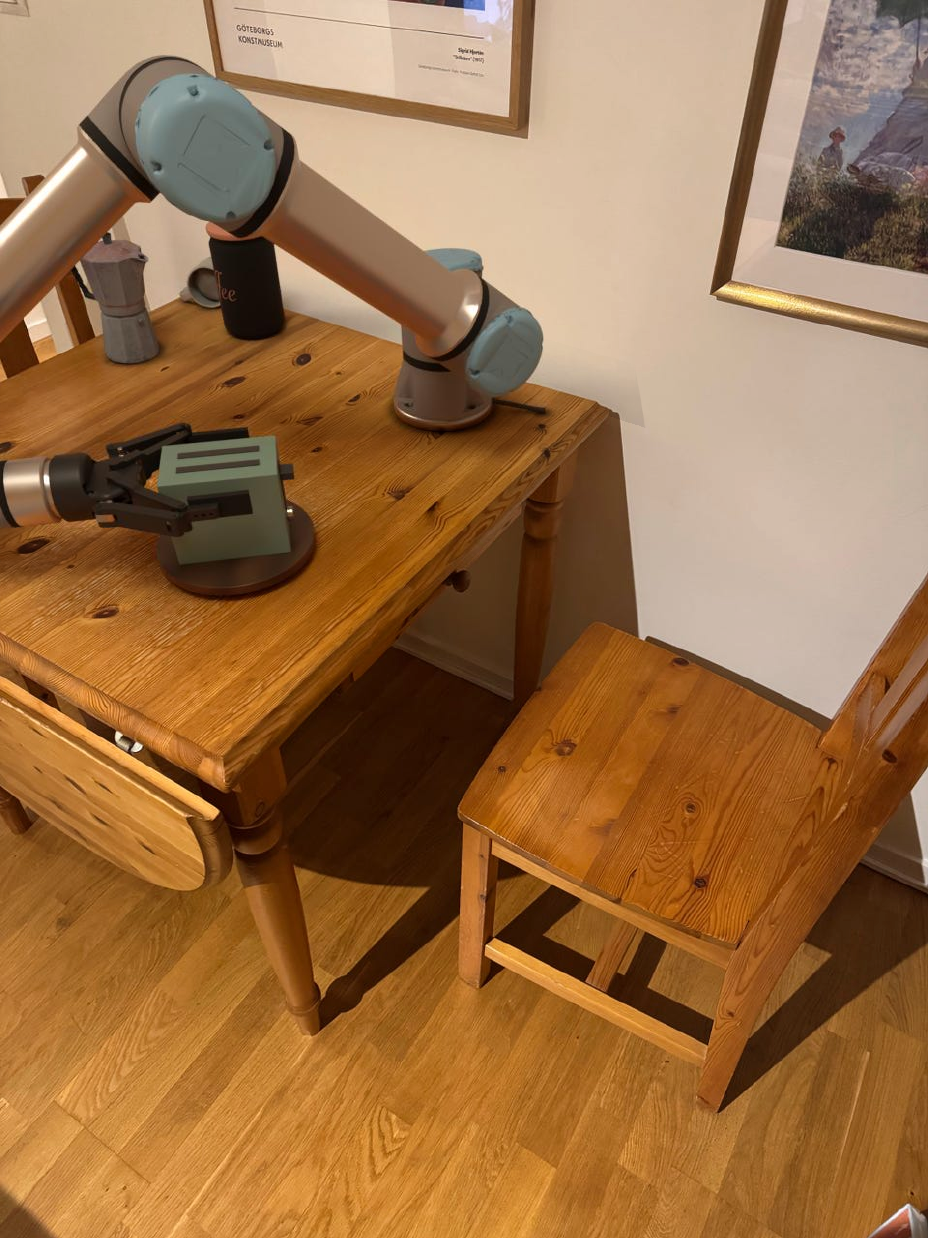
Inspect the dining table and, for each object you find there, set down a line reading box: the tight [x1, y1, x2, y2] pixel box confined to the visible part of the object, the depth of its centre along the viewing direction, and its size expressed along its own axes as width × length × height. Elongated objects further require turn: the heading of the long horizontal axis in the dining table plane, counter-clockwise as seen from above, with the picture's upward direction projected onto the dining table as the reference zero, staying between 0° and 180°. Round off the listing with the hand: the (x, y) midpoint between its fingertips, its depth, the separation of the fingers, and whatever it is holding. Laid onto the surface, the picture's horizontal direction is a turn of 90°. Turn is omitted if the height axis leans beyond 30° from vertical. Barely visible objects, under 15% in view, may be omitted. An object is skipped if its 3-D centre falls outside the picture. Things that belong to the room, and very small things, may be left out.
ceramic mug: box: [178, 256, 221, 309], centre depth 162 cm, size 11×8×8 cm
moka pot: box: [70, 231, 161, 364], centre depth 141 cm, size 10×15×20 cm, turn 78°
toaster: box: [155, 435, 316, 596], centre depth 102 cm, size 19×19×12 cm
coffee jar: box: [205, 221, 286, 341], centre depth 148 cm, size 11×11×18 cm
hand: (250, 468), depth 99 cm, fingers open, 13 cm apart
